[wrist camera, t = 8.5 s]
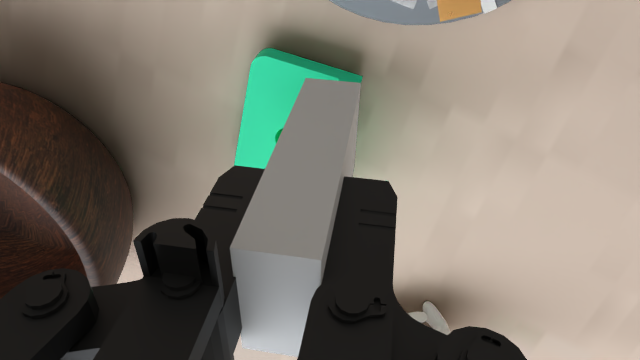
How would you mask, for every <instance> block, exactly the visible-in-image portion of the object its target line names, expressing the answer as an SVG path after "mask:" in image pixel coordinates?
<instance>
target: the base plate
mask: <svg viewBox="0 0 640 360" xmlns="http://www.w3.org/2000/svg"><path fill="white" fill-rule="evenodd" d="M329 1H331V2H333V3H335V4H336V5H338V6H340V7H341V8H344V9H346V10H349V11H351V12H353V13H356V14H358V15H360V16H363V17H367V18H371V19H374V20H378V21H382V22H387V23H395V24H402V25H432V24H440V23H448V22H454V21H458V20H462V19H466V18H470V17H474V16H477V15H479V14H482V13H484V14H485V13H487V12H490V11H492V10H494V9H497V7H500V6H502V5H503V4H505V3H507V2H509V1H511V0H481V9H482V12H481V13H476V14H472V15H468V16H463V17H459V18H455V19H450V20H446V21H442V22H440V18H439V11H438V6H436V7H434V8H431V9H429V6H428V3H427V1H426V0H417V2H416V4H415V7H414V9H411V8H408V7H406V6H403V5H401V4H398V3H396V2H393V1H391V0H329Z"/></svg>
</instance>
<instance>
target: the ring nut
mask: <svg viewBox="0 0 640 360" xmlns="http://www.w3.org/2000/svg"><path fill="white" fill-rule="evenodd" d="M391 1H393V2H396V3H398V4H401V5H403V6H406V7H408V8H411V9H414V7H415V4H416V2H417V0H391ZM426 1H427V3H428V6H429V9H431V8H434V7H436V6H438V11H439V18H440V22H442V21H446V20H450V19H455V18H459V17H463V16H468V15H472V14H476V13H481V12H482V9H481V0H426Z"/></svg>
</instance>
